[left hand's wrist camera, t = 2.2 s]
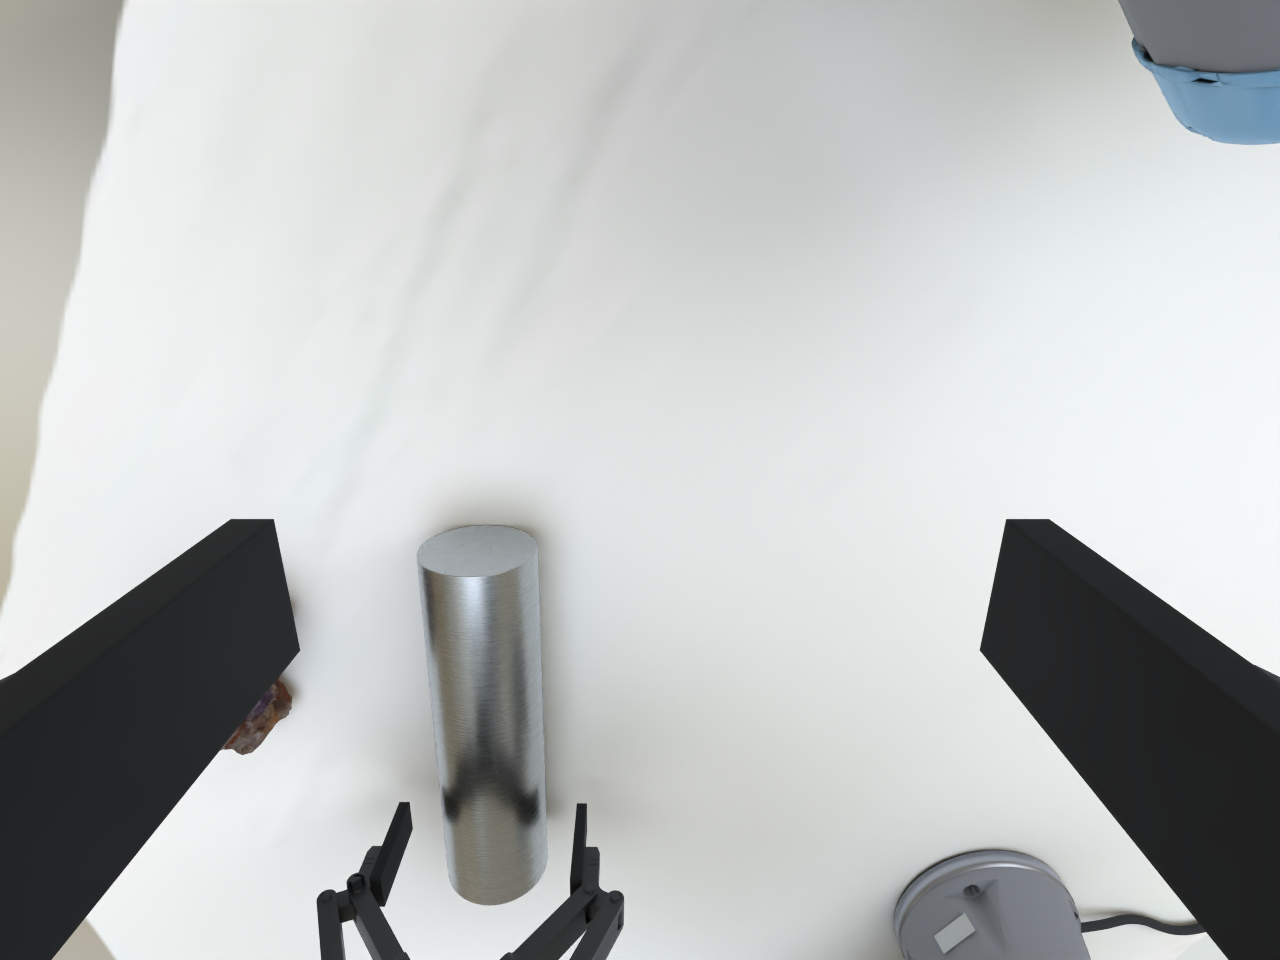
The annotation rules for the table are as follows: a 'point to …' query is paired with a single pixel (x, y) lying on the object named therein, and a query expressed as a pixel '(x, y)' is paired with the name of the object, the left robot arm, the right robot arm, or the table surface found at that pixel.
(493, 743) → the rod
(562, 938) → the right robot arm
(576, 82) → the table surface
